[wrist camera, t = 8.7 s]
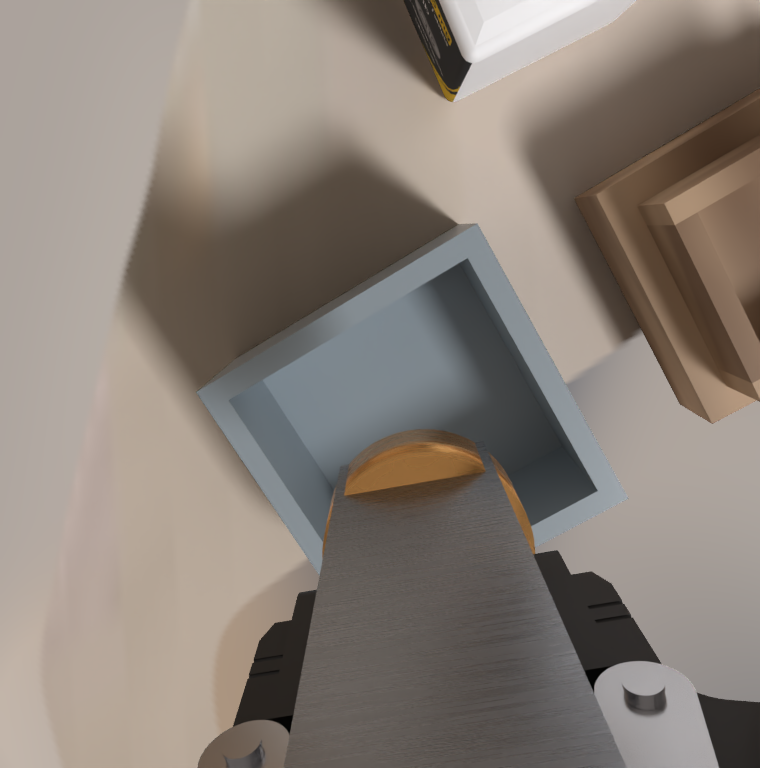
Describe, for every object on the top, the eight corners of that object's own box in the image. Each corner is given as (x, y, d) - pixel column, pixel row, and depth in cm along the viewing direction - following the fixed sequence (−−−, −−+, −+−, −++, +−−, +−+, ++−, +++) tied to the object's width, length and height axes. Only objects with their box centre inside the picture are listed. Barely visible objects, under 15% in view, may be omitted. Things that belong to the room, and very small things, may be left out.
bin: (458, 224, 28) (477, 223, 22) (581, 445, 30) (628, 498, 24) (234, 359, 29) (196, 392, 23) (366, 561, 31) (361, 638, 25)
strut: (311, 447, 17) (140, 965, 5) (503, 413, 17) (784, 875, 5) (349, 616, 18) (279, 1360, 6) (530, 587, 18) (811, 1305, 6)
